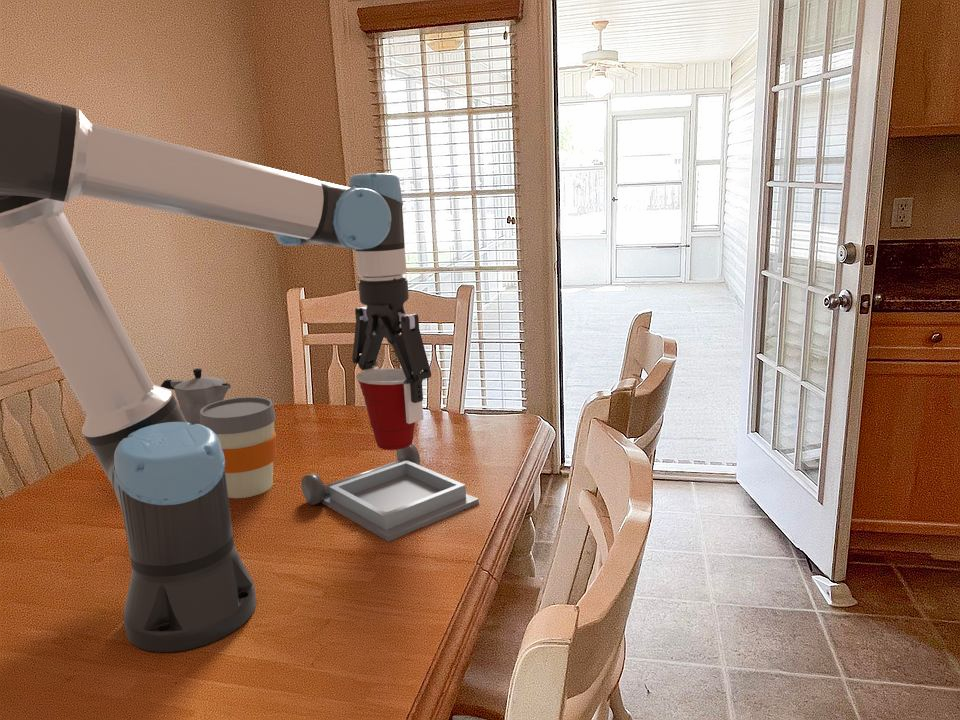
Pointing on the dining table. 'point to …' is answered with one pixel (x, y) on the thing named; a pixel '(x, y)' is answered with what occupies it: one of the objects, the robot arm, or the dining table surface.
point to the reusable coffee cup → (244, 442)
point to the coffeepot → (197, 394)
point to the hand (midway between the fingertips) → (393, 413)
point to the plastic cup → (387, 407)
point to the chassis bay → (392, 496)
